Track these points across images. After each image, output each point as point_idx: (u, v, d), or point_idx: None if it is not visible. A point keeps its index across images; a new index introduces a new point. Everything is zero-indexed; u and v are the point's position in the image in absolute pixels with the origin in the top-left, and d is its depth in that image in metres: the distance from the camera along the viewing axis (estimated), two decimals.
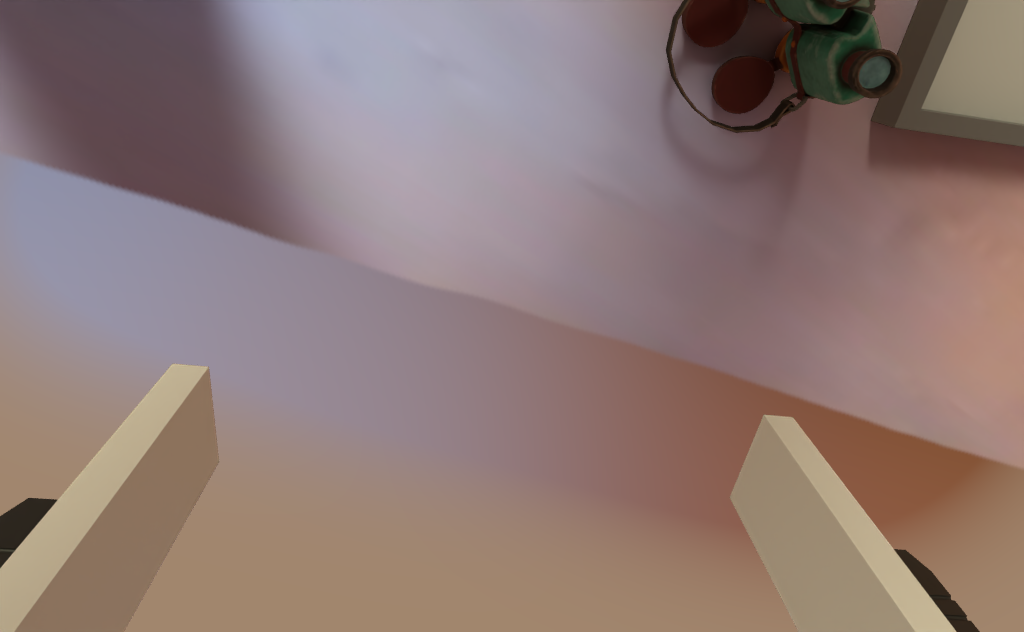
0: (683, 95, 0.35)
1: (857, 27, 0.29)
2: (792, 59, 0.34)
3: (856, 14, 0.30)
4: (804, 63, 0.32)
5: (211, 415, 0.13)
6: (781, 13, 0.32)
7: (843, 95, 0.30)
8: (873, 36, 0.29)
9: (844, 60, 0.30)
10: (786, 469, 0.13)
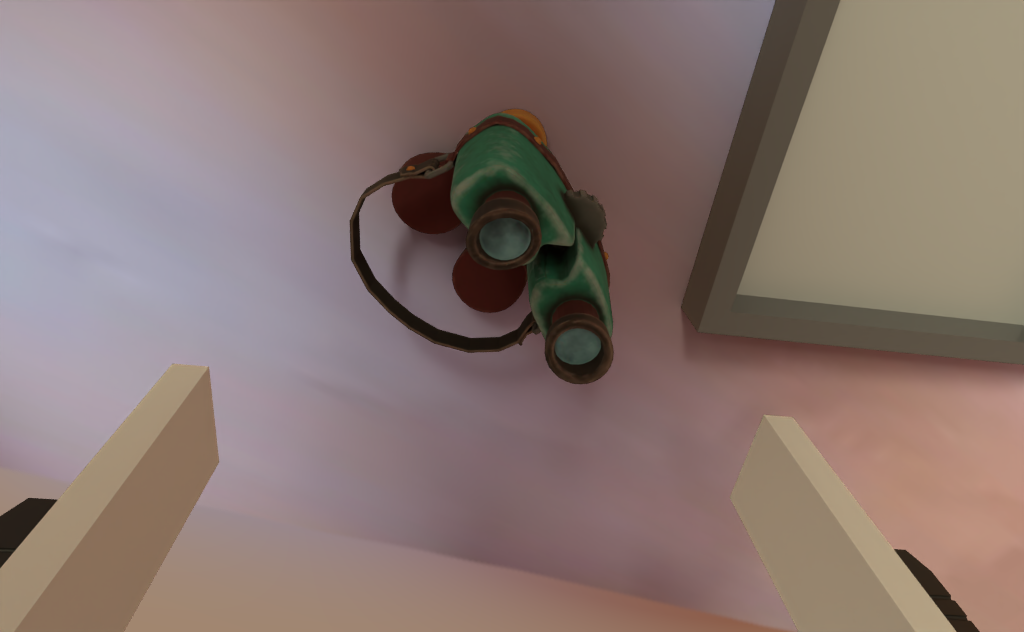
0: None
1: (568, 264, 0.20)
2: None
3: (573, 240, 0.20)
4: None
5: (211, 415, 0.13)
6: None
7: None
8: (587, 282, 0.20)
9: (552, 310, 0.20)
10: (787, 469, 0.13)
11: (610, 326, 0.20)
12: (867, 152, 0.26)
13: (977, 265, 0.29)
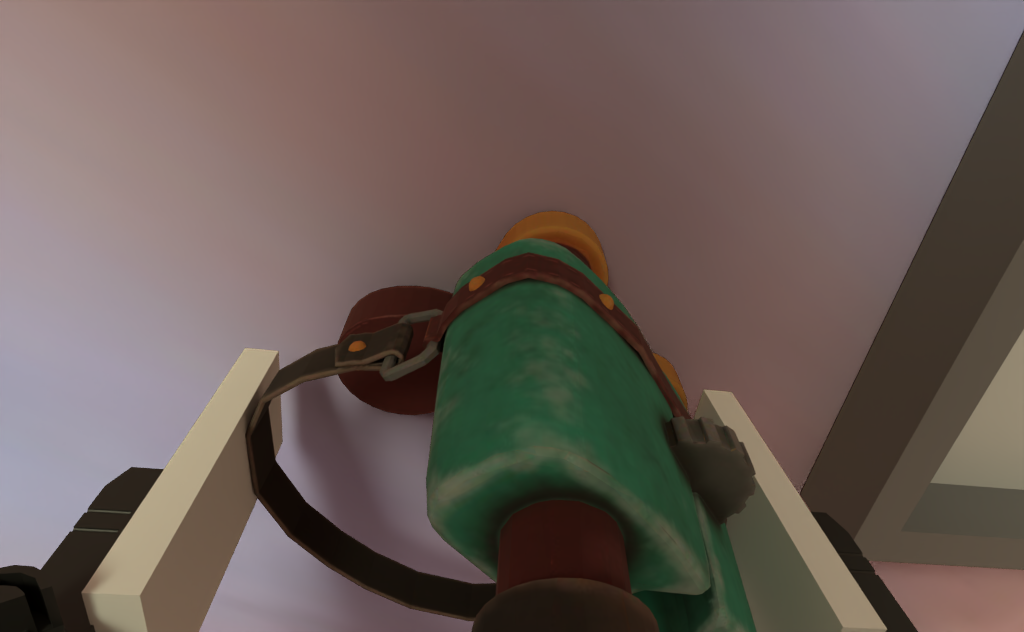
0: (328, 556, 0.14)
1: (687, 598, 0.09)
2: None
3: None
4: None
5: (278, 397, 0.14)
6: None
7: None
8: None
9: None
10: None
11: None
12: None
13: None
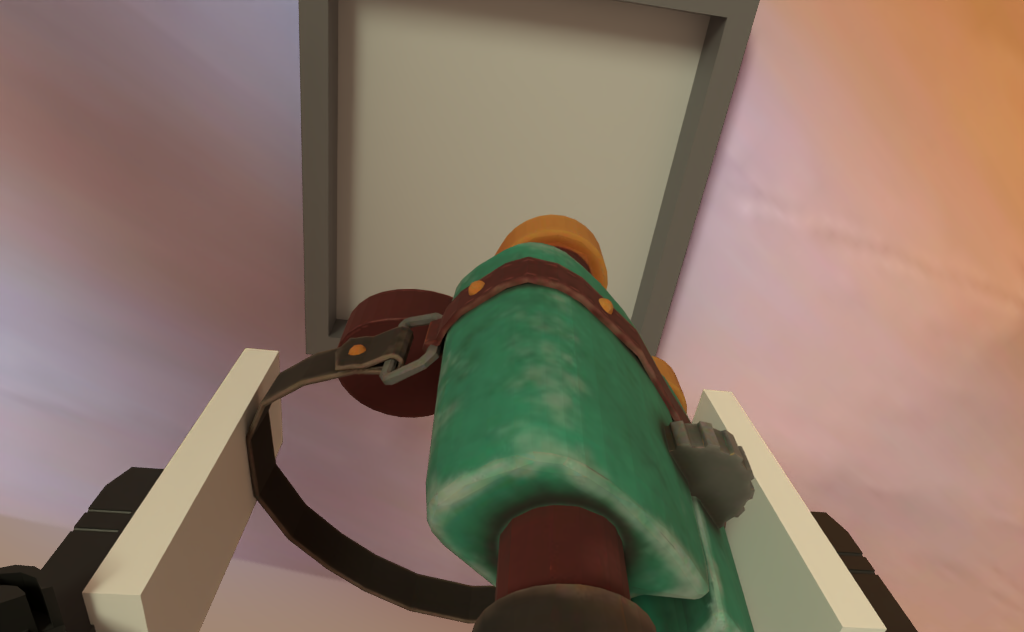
0: (328, 558, 0.14)
1: (686, 603, 0.09)
2: None
3: None
4: None
5: None
6: None
7: None
8: None
9: None
10: None
11: None
12: (429, 205, 0.31)
13: None
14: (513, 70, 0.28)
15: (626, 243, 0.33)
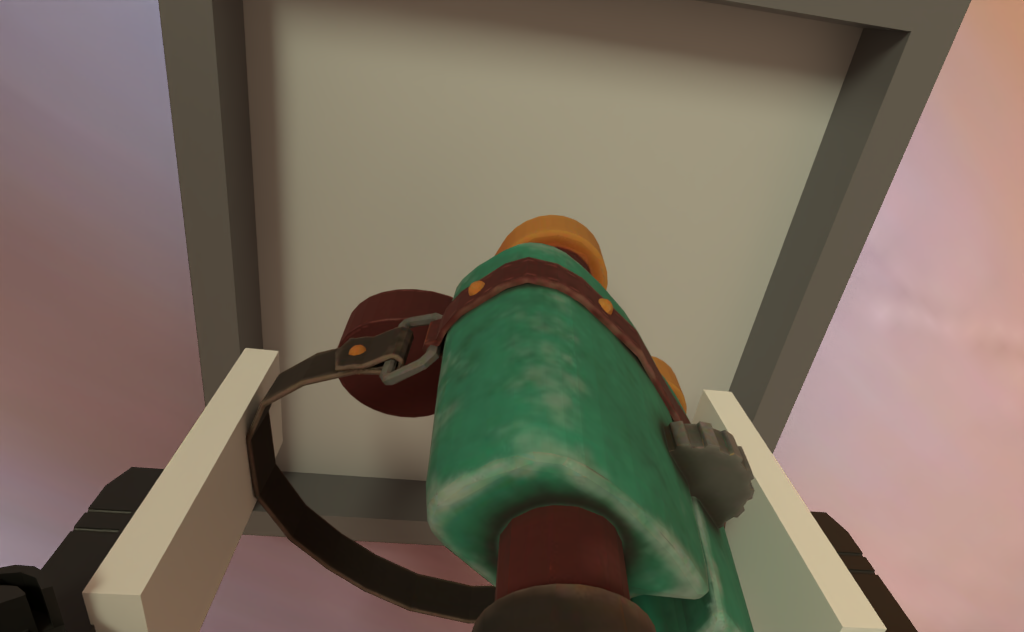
0: (328, 558, 0.14)
1: (685, 602, 0.09)
2: None
3: None
4: None
5: None
6: None
7: None
8: None
9: None
10: None
11: None
12: None
13: None
14: (537, 115, 0.18)
15: (701, 365, 0.22)
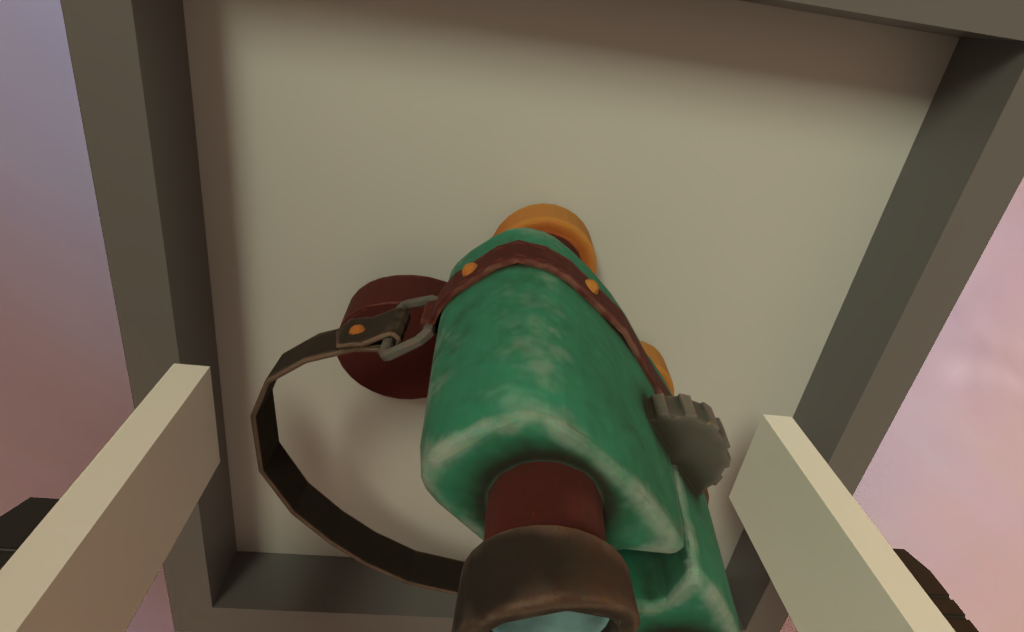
0: None
1: (664, 561, 0.10)
2: None
3: None
4: None
5: (212, 415, 0.13)
6: None
7: None
8: (706, 611, 0.09)
9: None
10: (785, 468, 0.13)
11: None
12: None
13: None
14: (553, 144, 0.14)
15: (743, 433, 0.19)
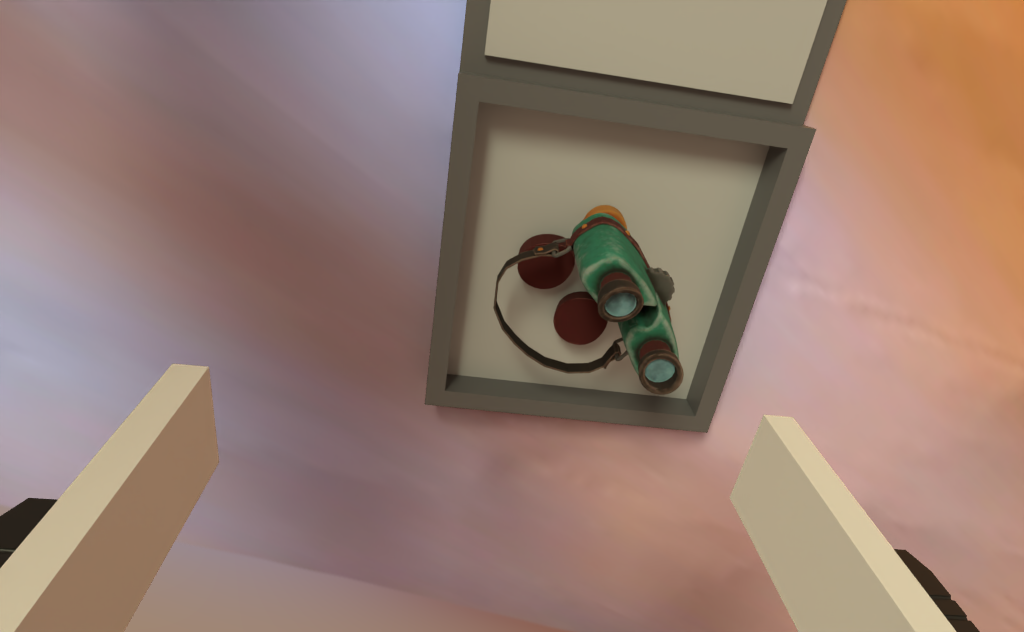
0: None
1: (651, 317, 0.31)
2: None
3: None
4: None
5: (211, 415, 0.13)
6: None
7: None
8: (664, 329, 0.30)
9: (639, 346, 0.31)
10: (787, 469, 0.13)
11: (677, 357, 0.31)
12: None
13: None
14: (609, 181, 0.35)
15: (693, 315, 0.39)
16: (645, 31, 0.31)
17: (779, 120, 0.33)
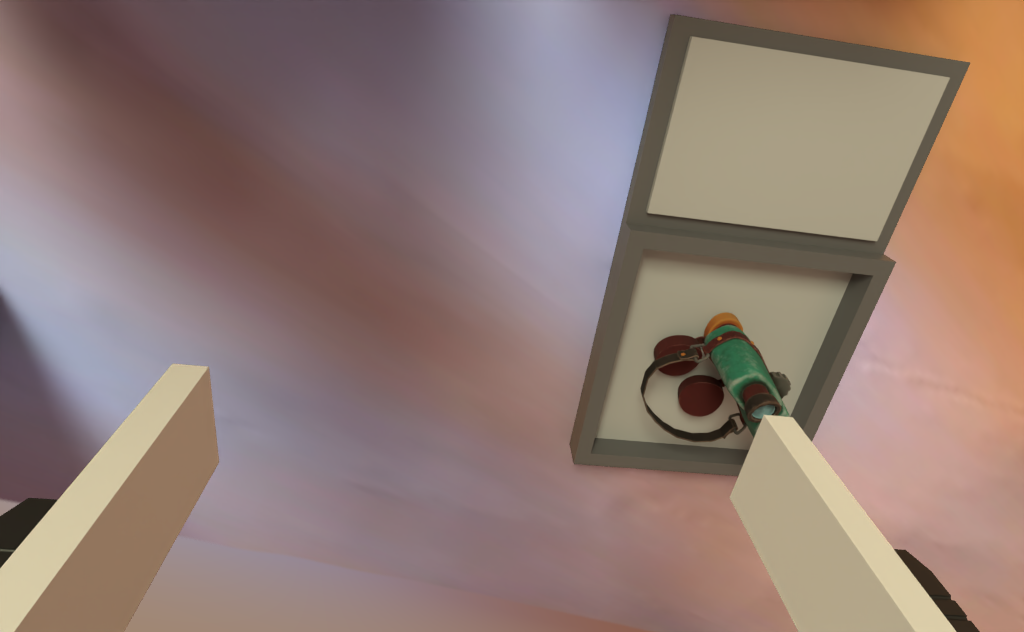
0: None
1: None
2: None
3: None
4: (742, 411, 0.44)
5: (211, 415, 0.13)
6: None
7: None
8: None
9: None
10: (786, 469, 0.13)
11: None
12: None
13: (737, 422, 0.51)
14: (730, 294, 0.45)
15: None
16: (770, 194, 0.40)
17: (865, 251, 0.43)
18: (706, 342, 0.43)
